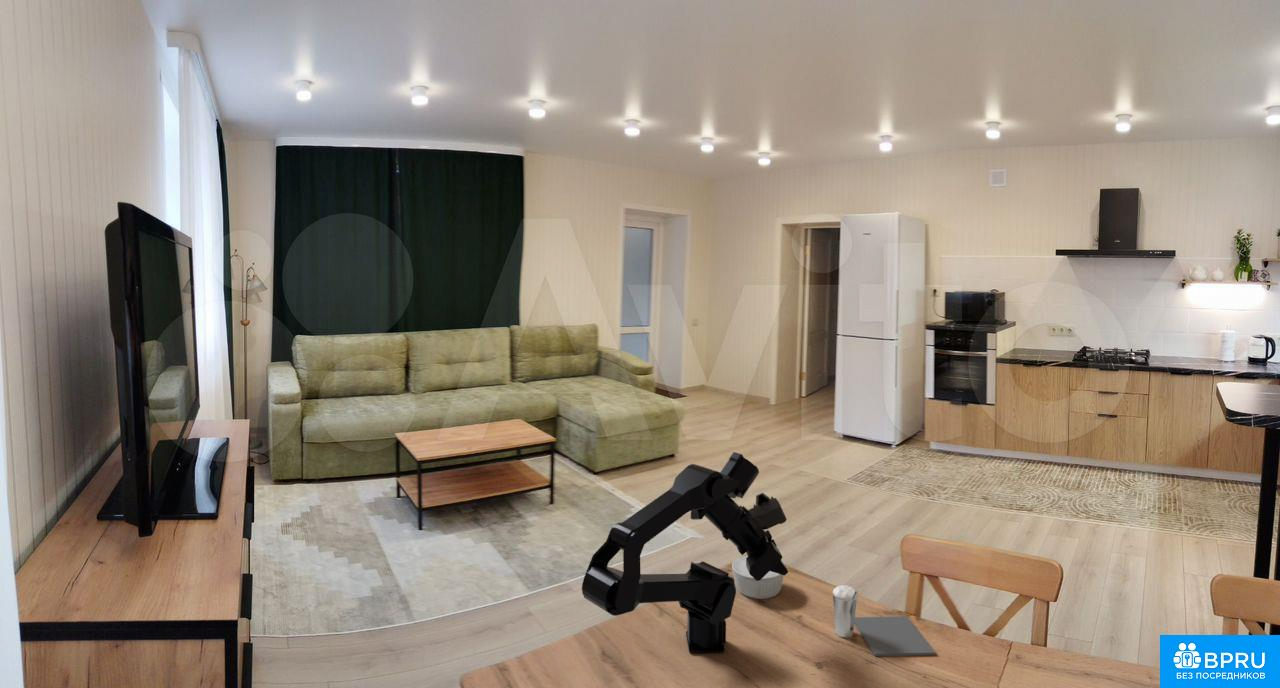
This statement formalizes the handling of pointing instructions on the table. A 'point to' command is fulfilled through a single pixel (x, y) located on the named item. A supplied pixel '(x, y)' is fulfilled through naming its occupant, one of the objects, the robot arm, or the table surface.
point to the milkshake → (844, 610)
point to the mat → (892, 636)
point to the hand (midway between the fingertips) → (786, 572)
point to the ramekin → (750, 586)
